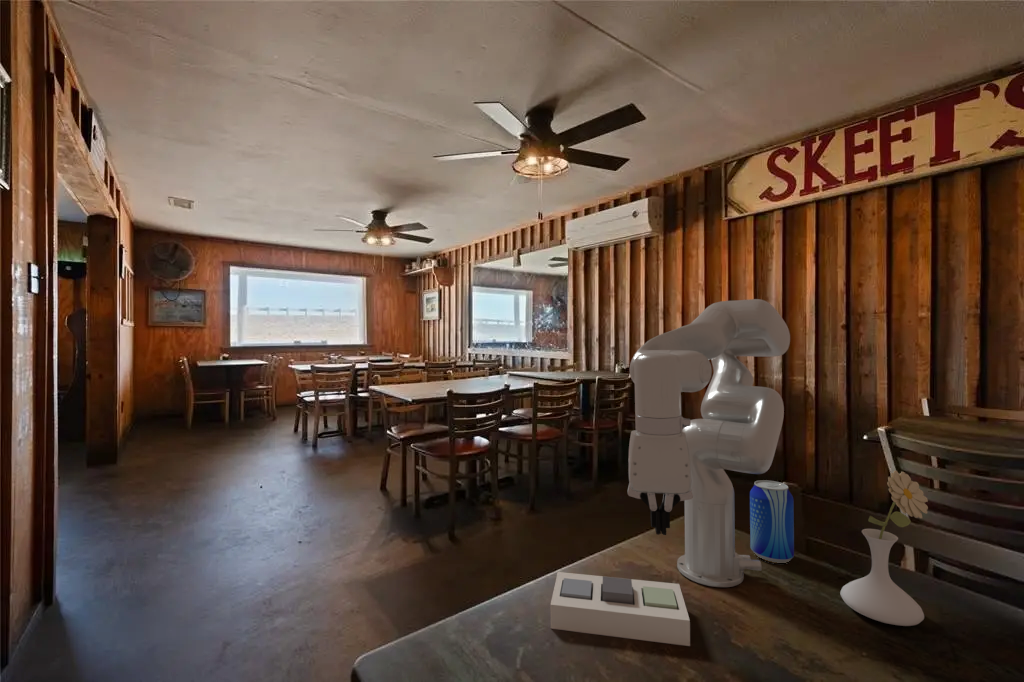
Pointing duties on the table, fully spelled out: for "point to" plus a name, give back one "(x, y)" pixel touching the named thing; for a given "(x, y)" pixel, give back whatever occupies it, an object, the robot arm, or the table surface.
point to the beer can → (772, 521)
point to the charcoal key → (617, 590)
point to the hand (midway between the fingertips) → (660, 531)
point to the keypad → (620, 613)
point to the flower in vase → (877, 589)
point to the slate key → (577, 589)
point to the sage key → (659, 597)
